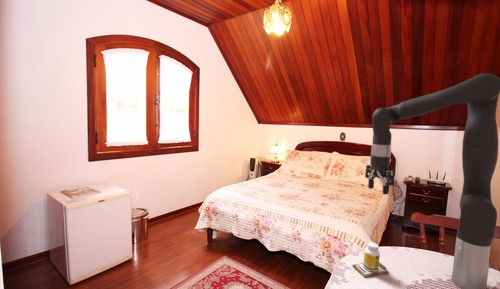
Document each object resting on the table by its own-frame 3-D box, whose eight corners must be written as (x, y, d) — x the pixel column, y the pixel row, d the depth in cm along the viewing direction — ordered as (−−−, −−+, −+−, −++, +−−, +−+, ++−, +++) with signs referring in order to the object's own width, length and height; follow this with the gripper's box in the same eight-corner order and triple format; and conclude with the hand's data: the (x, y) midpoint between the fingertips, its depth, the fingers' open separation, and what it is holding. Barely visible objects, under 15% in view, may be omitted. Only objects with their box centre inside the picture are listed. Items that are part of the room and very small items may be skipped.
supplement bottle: (376, 274, 96) (378, 249, 95) (361, 268, 99) (363, 245, 98) (379, 267, 100) (381, 244, 99) (365, 262, 103) (366, 239, 102)
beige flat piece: (375, 263, 105) (376, 259, 104) (388, 273, 98) (389, 269, 98) (352, 266, 102) (352, 263, 102) (364, 277, 95) (364, 273, 95)
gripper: (401, 157, 102) (398, 195, 104) (376, 151, 116) (373, 186, 118) (386, 157, 100) (382, 196, 102) (362, 152, 114) (359, 187, 116)
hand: (377, 191), depth 110 cm, fingers open, 8 cm apart
